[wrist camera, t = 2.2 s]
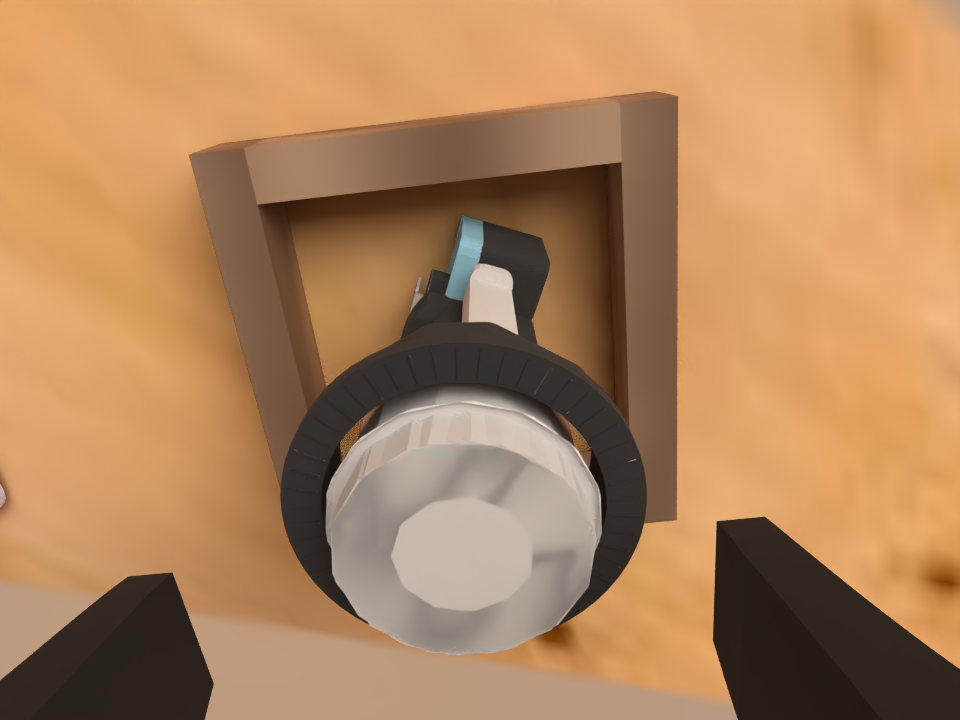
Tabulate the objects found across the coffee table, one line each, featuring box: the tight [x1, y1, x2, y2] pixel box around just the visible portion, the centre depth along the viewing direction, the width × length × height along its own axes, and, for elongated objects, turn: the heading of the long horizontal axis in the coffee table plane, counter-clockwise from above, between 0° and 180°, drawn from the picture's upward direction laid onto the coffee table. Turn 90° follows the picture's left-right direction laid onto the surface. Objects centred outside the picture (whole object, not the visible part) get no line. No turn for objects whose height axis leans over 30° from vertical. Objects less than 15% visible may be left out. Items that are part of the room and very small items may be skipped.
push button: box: [280, 215, 647, 656], centre depth 14 cm, size 7×5×10 cm
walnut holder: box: [189, 91, 678, 523], centre depth 18 cm, size 10×11×2 cm
